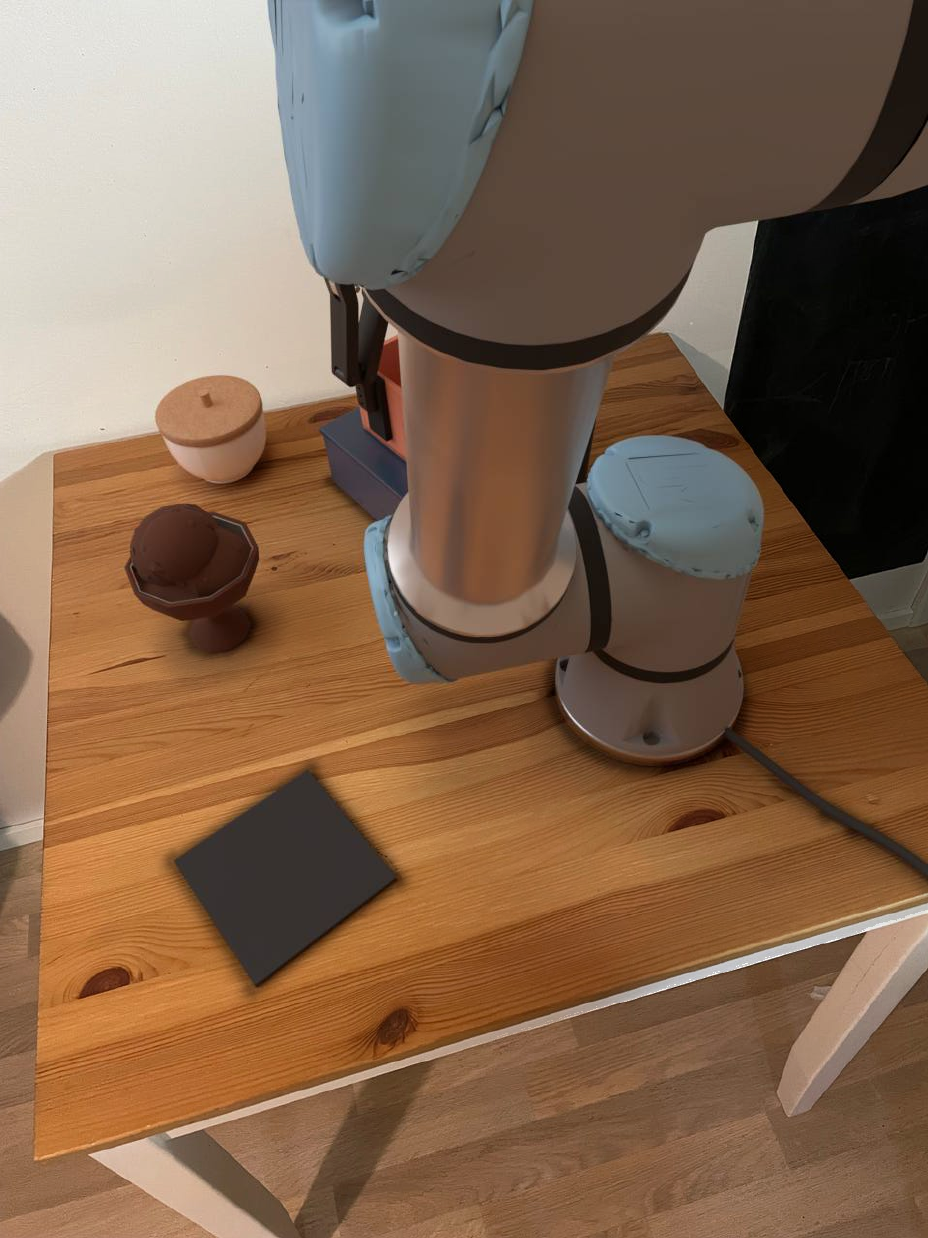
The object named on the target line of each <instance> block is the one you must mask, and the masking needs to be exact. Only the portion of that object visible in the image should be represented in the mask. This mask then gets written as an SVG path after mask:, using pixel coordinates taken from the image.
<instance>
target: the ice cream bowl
mask: <svg viewBox="0 0 928 1238" xmlns="http://www.w3.org/2000/svg"><path fill="white" fill-rule="evenodd" d="M129 548H130V549H129V554H130V556H129V558H128V560H127V561H126V563H125V565H124V567H123V568H124V571H125V573H126V575H127V579H128V581H129V584H130V586H131V590H132V592H133V594H134V596H135V597H136V598H137V599H138V600H139V601H140V603H141V604H142V605H144V606H145V607H147V608H148V609H151V610H152V611H154V612H157V613H160V614H162V615H164V616H167V617H170V618H172V619H175V620H177V621H180V622H186V621H193V622H192V624H191V627H190V629H189V636H190V638H191V640H192V643H193V645H194V647H195V648H197V649H199V650H202V651H204V652H207V653H210V654H214V653H220V652H227V651H231V650H232V649H234V648H235V647H237V646H238V645H239V644H241V643H242V642H243V641H244V640H246V639H247V636H248V633H249V631H250V629H251V626H252V624H251V623H252V622H251V621H250V619H249V617H248V615H247V613H246V611H244V609H243V608H240V607H238V606H235V604H236V603H238V602H239V601H240V600H242V599H244V598H245V597H246V596H247V593H248V592H249V589H250V586H251V584H252V581H253V578H254V576H255V574H256V571H257V567H258V565H259V562H260V549H259V545H258V543H257V542H256V540H255V538H254V535H253V534H252V532H251V530H250V528H249V526H248V524H247V522H246V521H242V520H240V519H237V518H234V517H231V516H229V515H228V516H227V515H225V514H222V513H219V512H216V511H207V510H205V509H204V508H201V507H200V506H199V505H197V504H195V503H175V504H174V503H173V504H169V505H161V506H160V507H159V508H157V509H156V510H154V511H152V512H150V513H149V514H147V515H146V516H145V517H144V518H143V519H142V520H141V521H140V523H139V524H138V526H136V528H135V529H134V530H133V535H132V537H131V540H130V545H129Z"/></svg>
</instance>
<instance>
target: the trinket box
mask: <svg viewBox="0 0 928 1238" xmlns="http://www.w3.org/2000/svg"><path fill="white" fill-rule="evenodd" d="M154 415H155V416H154V419H155V424H156V426H157V428H158V431H159V433H160V434H161V436H162V439H163V440H164V443H165V445H166V448H167V449H168V451H169V453H170V454H171V457H173V458H174V460H175V461H176V462H177V464H178V465H179V466H180V467H182V469H183V470H185V471H186V472H187V473H189V474H191V475H192V476H194V477H197V478H200V479H202V480H205V482H208V483H212V484H217V485H218V484H220V485H221V484H230V483H234V482H237V481H239V480H241V479H243V478H245V477H246V476H248V475H249V474H250V473H251V472H252V471H253V469H254V467H255V465H257V462H258V461H259V460H260V459H261V457H262V455H263V453H264V450H265V447H266V442H267V421H266V417H265V412H264V408H263V400H262V397H261V393H260V391H259V390H258V388H257V387H256V386H255V385H254V384H253V383H251V382H250V381H248V380H246V379H244V378H241V377H238V376H234V375H224V374H218V375H216V374H215V375H208V376H207V375H206V376H201V377H198V378H195V379H191V380H188V381H185V382H184V383H181V384H180V385H177V386H176V387H174V388H173V389H171V390H170V391H168V393H166V394H165V395H164V397H163V398H162V399H161V400H160V401H159V403H158V405H157V407H156V410H155V414H154Z"/></svg>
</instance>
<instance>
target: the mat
mask: <svg viewBox="0 0 928 1238" xmlns="http://www.w3.org/2000/svg"><path fill="white" fill-rule="evenodd" d="M173 863H174V864H175V865H176V867H177V868H178V870H179V871H180V873H181V874H182V876H183V877H184V879H185V881H186V882H187V884H188V885H189V886H190V888H191V889H192V891H193V893H194V894H195V896H196V897H197V899H198V900H199V902H200V903H201V905H202V907H203V908H204V909H205V911H206V913H207V914H208V916H209V917H210V919H211V921H212V922H213V923H214V925H215V926H216V928H217V929H218V931H219V932H220V934H221V935H222V937H223V938H224V941H225V942H226V943H227V944H228V946H229V948H230V950H231V951H232V952H233V954H234V955H235V957H236V959H237V960H238V962H239V963H240V964H241V966H242V969H244V971H245V973H246V974H247V975H248V977H249V978H250V980H251V982H252V983H253V985H254V987H259V986H260V985H261V984H262V983H264V982H265V981H266V980H267V979H269V978H271V976H273V975H274V974H276V972H278V971H279V970H281V969H282V968H283V967H285V966H286V965H287V964H288V963H290V962H291V961H293V960H294V959H295V958H296V957H297V956H299V955H300V954H301V953H303V952H304V951H306V950H307V949H308V948H309V947H311V946H312V945H313V944H314V943H316V942H317V941H319V940H320V939H321V938H322V937H324V936H325V935H327V934H328V933H329V932H330V931H332V930H333V929H334V928H335V927H337V926H338V925H339V924H341V923H342V922H343V921H345V920H346V919H347V918H349V917H350V916H351V915H352V914H354V913H355V912H356V911H358V910H359V909H360V908H361V907H363V906H365V905H366V904H367V903H368V902H369V901H371V900H372V899H373V898H375V897H376V896H377V895H379V894H380V893H381V892H382V891H384V890H385V889H387V888H388V887H389V886H390V885H392V884H393V883H394V882H396V881H397V880H398V879H397V876H396V874H395V873H394V872H393V871H392V870H391V868H389V866H388V865H387V863H386V862H385V861H384V860H383V859H382V857H381V856H380V855H379V854H378V852H377V851H376V850H375V849H374V848H373V847H372V845H371V844H370V843H369V841H368V840H367V839H366V838H365V837H364V836H363V835H362V834H361V832H360V831H359V829H358V828H357V826H355V824H354V823H353V822H352V821H351V820H350V819H349V818H348V816H347V815H346V814H345V813H344V812H343V810H342V809H341V808H340V806H339V805H338V804H337V802H335V800H334V799H333V798H332V797H331V796H330V794H329V793H328V792H327V790H325V788H324V787H323V786H322V784H321V783H320V782H319V781H318V780H317V778H316V777H315V776H314V775H313V773H312V772H311V771H310V770H309V769H306V770H304V771H303V772H302V773H300V774H299V775H297V776H296V777H294V778H293V779H291V780H290V781H289V782H287V783H285V784H284V785H283V786H281V787H280V788H278V789H277V790H275V791H273V792H272V793H271V794H269V795H268V796H266V797H265V798H263V799H262V800H261V801H259V802H257V803H256V804H254V805H253V806H252V807H250V808H249V809H247V810H246V811H244V812H242V814H240V815H238V816H237V817H235V818H234V819H233V820H231V821H230V822H228V823H226V824H225V825H223V826H222V827H220V828H219V829H218V830H216V831H214V832H213V833H212V834H211V835H209V836H208V837H206V838H205V839H203V840H202V841H200V842H199V843H196V845H194V846H192V847H191V848H189V849H188V850H187V851H185V852H184V853H182V854H181V855H179V856H178V857H176V858H175V859H174V860H173Z"/></svg>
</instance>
